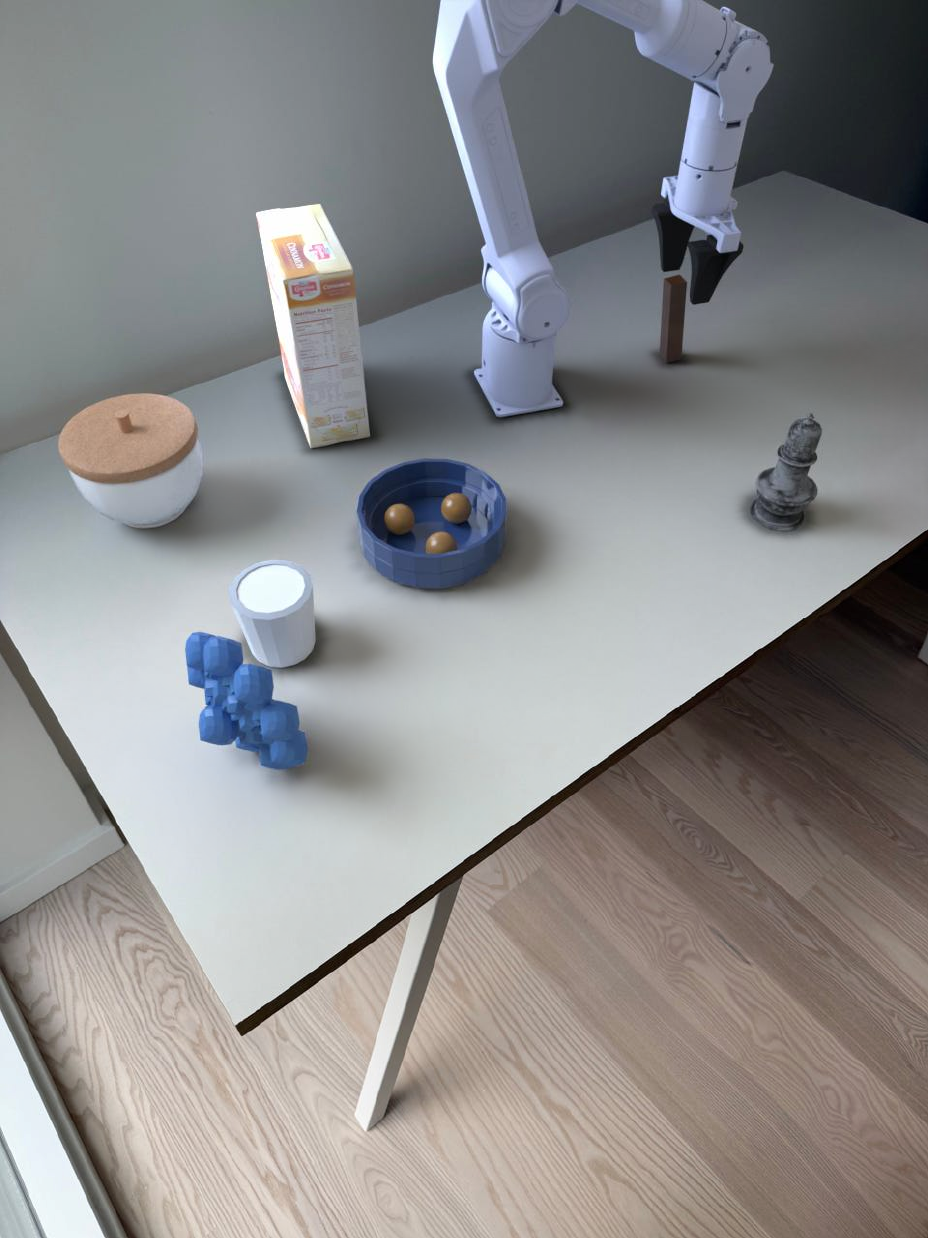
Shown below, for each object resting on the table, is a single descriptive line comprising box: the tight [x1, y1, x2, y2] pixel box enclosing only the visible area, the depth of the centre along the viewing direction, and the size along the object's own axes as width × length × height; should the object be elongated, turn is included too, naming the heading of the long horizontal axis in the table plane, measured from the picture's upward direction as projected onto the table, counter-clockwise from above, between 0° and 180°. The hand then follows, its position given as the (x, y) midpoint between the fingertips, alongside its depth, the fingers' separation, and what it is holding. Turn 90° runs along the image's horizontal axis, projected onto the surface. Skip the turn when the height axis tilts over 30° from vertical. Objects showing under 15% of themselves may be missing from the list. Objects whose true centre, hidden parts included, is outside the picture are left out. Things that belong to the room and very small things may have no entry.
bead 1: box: [384, 504, 415, 535], centre depth 86 cm, size 3×3×3 cm
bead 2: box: [441, 493, 472, 524], centre depth 87 cm, size 3×3×3 cm
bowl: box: [355, 458, 507, 589], centre depth 85 cm, size 14×14×4 cm
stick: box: [659, 274, 688, 364], centre depth 105 cm, size 2×2×10 cm
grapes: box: [184, 631, 309, 771], centre depth 66 cm, size 12×7×12 cm, turn 51°
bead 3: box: [426, 532, 458, 554], centre depth 83 cm, size 3×3×3 cm
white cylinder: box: [228, 558, 317, 669], centre depth 76 cm, size 7×7×7 cm
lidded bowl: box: [57, 392, 204, 529], centre depth 86 cm, size 13×13×11 cm
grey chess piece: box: [749, 412, 823, 532], centre depth 85 cm, size 6×6×12 cm
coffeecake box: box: [255, 203, 371, 449], centre depth 95 cm, size 15×7×20 cm, turn 18°
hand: (684, 285), depth 101 cm, fingers open, 7 cm apart
